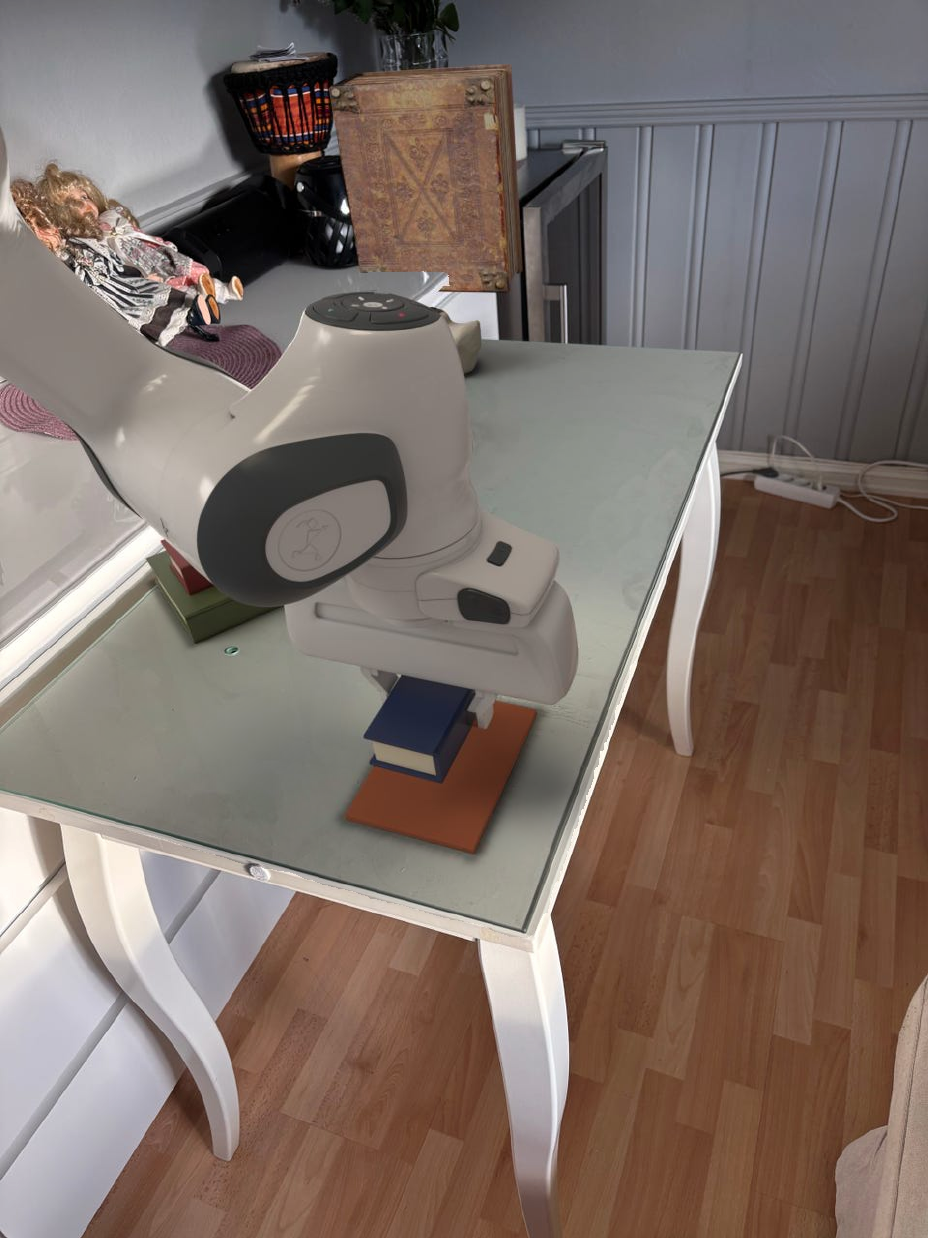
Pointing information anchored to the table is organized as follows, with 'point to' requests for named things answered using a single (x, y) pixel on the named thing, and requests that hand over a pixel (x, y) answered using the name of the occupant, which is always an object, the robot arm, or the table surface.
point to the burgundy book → (186, 571)
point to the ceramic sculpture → (465, 340)
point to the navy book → (420, 728)
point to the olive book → (200, 603)
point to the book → (432, 173)
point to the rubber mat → (449, 787)
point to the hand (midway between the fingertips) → (438, 712)
